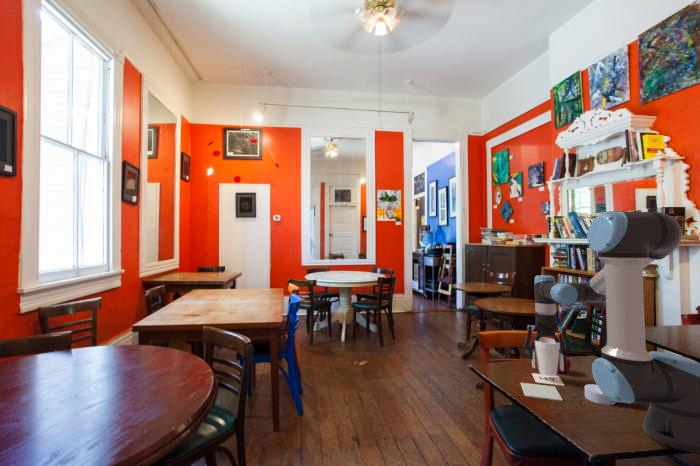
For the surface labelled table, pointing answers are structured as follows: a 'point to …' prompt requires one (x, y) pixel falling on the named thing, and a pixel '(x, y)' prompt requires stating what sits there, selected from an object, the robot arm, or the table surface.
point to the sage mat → (541, 391)
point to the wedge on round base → (597, 395)
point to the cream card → (547, 379)
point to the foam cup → (547, 356)
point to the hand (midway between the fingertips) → (547, 368)
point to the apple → (566, 365)
